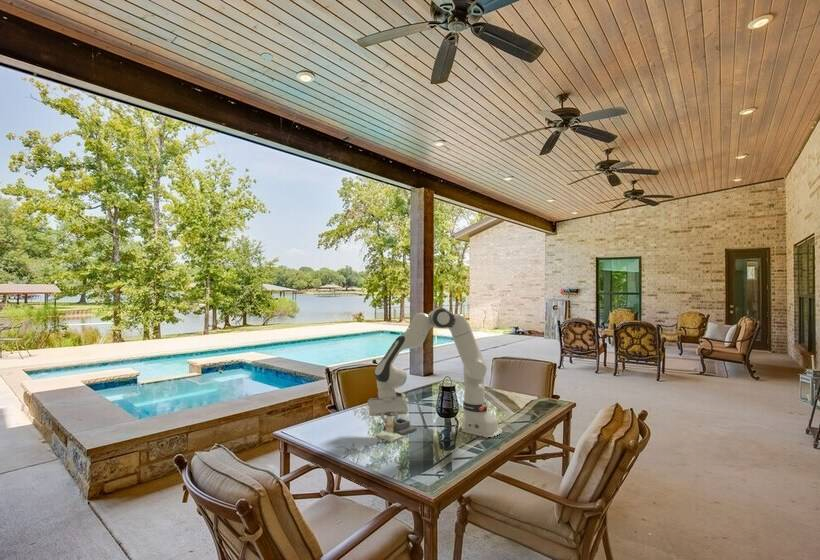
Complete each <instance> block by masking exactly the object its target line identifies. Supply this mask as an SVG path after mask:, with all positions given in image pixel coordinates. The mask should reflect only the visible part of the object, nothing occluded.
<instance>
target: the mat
mask: <svg viewBox="0 0 820 560" xmlns="http://www.w3.org/2000/svg"><path fill="white" fill-rule="evenodd" d="M375 437H377V438H379V439H382V440H384V441H386V442H389V443H392V442H395V441H398V440H401V439H404V438H405V435H403V436H402V435H400V434H397V433H395V432H391V433H388V432H386V430H385V431H383V432H379V433H376V434H375Z"/></svg>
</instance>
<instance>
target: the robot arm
mask: <svg viewBox="0 0 820 560" xmlns="http://www.w3.org/2000/svg"><path fill="white" fill-rule="evenodd" d="M432 328H437V329H448V330H449V332H450V334H451V336H452V340H453V343H454V344H455V347H456V349H457V352H458V354H459V357H460V359H461V362H462V364H463V387H464V389H463V391H464V393H463V402H462V403H463V405H462V408H463V412H462V413H463V414H462V415H463V416H462V421H461V425H460V429H461V430H462V432H463V433H465V434H469V435H470V434H471V435H475V436H477V437H482V436H483V437H482V438H488V437H491V438H495V437H498V436H500V435H501V434H503V430H502V429H501V428H499V425H498V420H497V419H496V418H495V416H493V414H491V412H490V411H488V408H489V407H490V406H489V404H486V402H485V400H486V399H485V392H486V391H485V390H486V389H485V387H486V386H485V376H486V374H487V372H488V371H487V370H488V369H487V365H486V362H485V359H484V357H483V354H482V352H481V350H480V348H479V345H478V343H477V341H476V339H475V338H476V337H475V336H474V333H473V331H472V328H471V325H470V324H469V321H468V320H467V318H466V317H465V315H463V314H462V313H455V314H454V313H452V312H451V311H450V310H449V309H447V308H445V307H436V308H434V309H432V310H431V311H429V312H428V313H425V312H417V313H416V314H415V315H414V317H413V318H412V319H411V321H410V323H409V325H408V327H407V329H406V330H405V332H404V333H403V334H402V335H400V336H398V337H397V338H396V339H395V340H394V342H393V343H392V344H391V346H390V347H389V348H388V350H387V352H386V353H385V355H384V357H383V358H382V360H381V361H379V362H378V364H377V365H376V366H375V368H374V376H375V378H376V387H377V390H378V391H377V397H374V398H373V397H371V398H369V399H368V400H367V405H368V416H370V417H378V416H380V419H381V420H382V421H383V424H386V423H387V419H386V417H385V416H386V413H389V412H391V413H394V415H393V423H395V422H396V419H398V418H397V417H398V416H399V415H406V414H407V413H408V412H409V407H408V406H409V405H408V402H407V400H406V399H405V398H404V397H405V394H404V393H403V392H398V391H395V389H398V388H400V387H402V386H403V385H404V384H405V383H406V381H407V376H408V375H407V372H406V371H405V369H403V368H401V367H398V366H395V365H393V364H394V362H395V360H396V359H397V357H398V356H399V354H400V353H401V352H402V351H404V350H408V349H416V348H419V347H421V346H422V345H423V343H424V342H425V340H426V338H427V335H428V333H429V331H430V330H431V329H432ZM499 434H500V435H499ZM497 435H498V436H497ZM494 436H495V437H494ZM488 439H489V438H488Z"/></svg>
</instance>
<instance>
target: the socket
mask: <svg viewBox="0 0 820 560" xmlns="http://www.w3.org/2000/svg"><path fill="white" fill-rule="evenodd" d="M410 423H411V421H410V420H407V419H405V418H402V417H399V418H396V422H395V423H394V427H393V432H395V433H397V434H400V435H402V436H405V435H408V434H411V433H414V432H417V427H416V426H413V425H411V424H410ZM383 430H386V427H385V425H383Z"/></svg>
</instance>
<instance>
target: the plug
mask: <svg viewBox="0 0 820 560" xmlns="http://www.w3.org/2000/svg"><path fill="white" fill-rule="evenodd" d="M385 416H386V417H385V418H386V419H387V423H384V424H385V425H384V426H385V427H386V429H385V431H386V432H388V433H391V432H393V427H394V423H393V418H394V413H391V412H389V413H386V415H385Z"/></svg>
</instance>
